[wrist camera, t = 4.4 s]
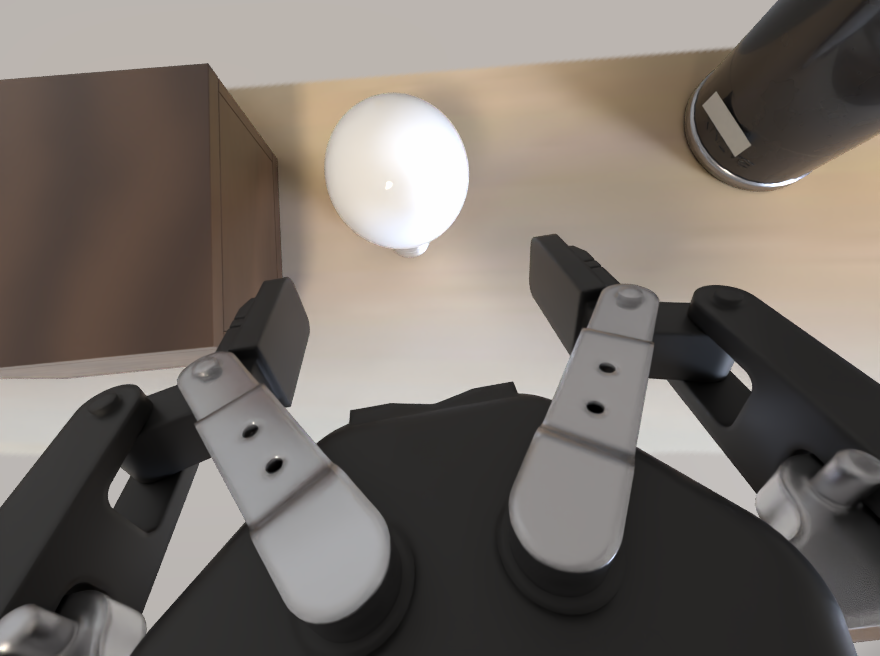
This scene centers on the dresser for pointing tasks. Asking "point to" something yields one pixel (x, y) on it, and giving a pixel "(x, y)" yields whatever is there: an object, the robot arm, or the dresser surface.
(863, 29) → the robot arm
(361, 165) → the lightbulb
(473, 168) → the dresser surface
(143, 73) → the cabinet
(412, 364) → the dresser surface
